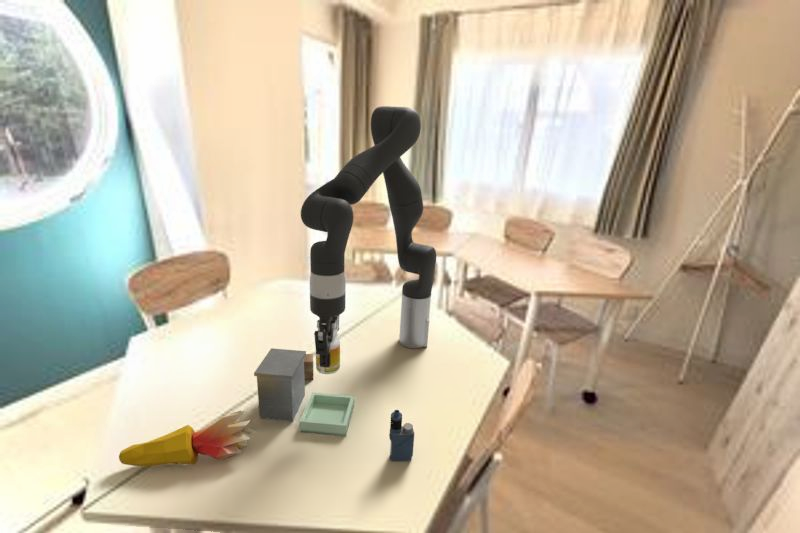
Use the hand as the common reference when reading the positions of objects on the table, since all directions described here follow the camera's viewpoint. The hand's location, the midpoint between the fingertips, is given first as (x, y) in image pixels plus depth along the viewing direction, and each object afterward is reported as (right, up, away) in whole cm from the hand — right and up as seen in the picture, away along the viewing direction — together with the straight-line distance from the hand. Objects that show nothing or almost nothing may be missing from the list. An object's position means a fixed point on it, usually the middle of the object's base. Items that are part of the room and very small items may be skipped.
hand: (328, 358), depth 93 cm
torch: (-27, -19, -7) cm, 34 cm away
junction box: (-13, -14, +9) cm, 21 cm away
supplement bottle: (0, -3, +1) cm, 3 cm away
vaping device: (+16, -20, -5) cm, 27 cm away
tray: (-1, -16, +5) cm, 16 cm away
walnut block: (-10, -10, +21) cm, 25 cm away
